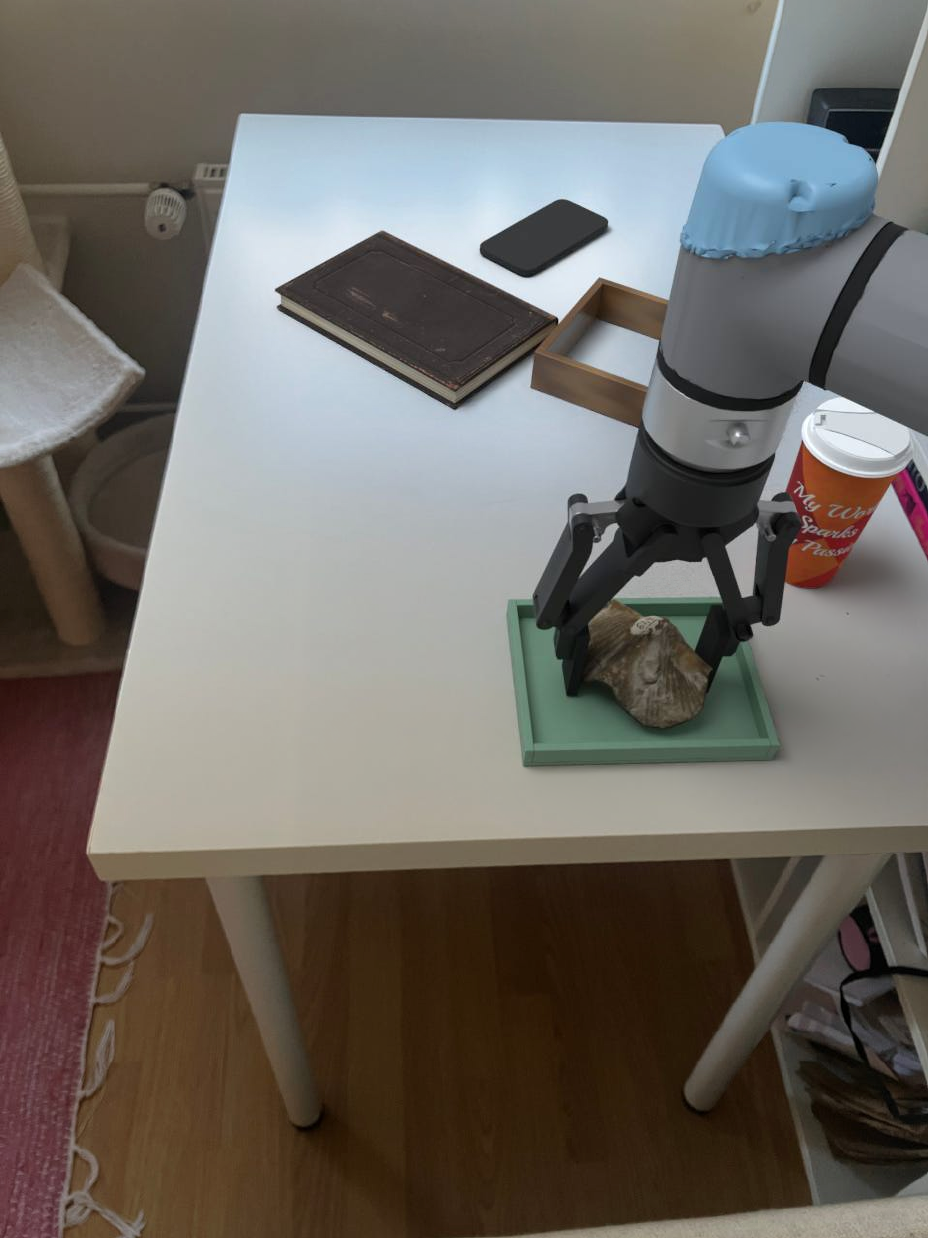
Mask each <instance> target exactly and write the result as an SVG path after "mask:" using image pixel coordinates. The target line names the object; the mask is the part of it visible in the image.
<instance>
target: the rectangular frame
mask: <svg viewBox="0 0 928 1238" xmlns="http://www.w3.org/2000/svg"><path fill="white" fill-rule="evenodd" d="M668 302H669V299H667V298H663V297H661V296H657V295H655V294H652V293H648V292H645V291H642V290H639V289H637V288H634V287H630V286H628V285H624V284H622V283H618V282H615V281H612V280H609V279H607V278H603V277H601V276H600V277H598V278H597V279H596V280H595V281H594V283H593V284H592V285H591V286H590V287H589V288H588V290H587V291H585V293H584V294H583V295H582V296H581V298H580V299H579V300H578V301H577V302H576V303H575V304H574V306H573V307H572V308H571V309H570V310H569V311H568V313H567V314H566V315H565V316H564V317H563V318H562V319H561V321H560V322H558V325H557V326H556V327H555V329H554V330H553V331H552V332H551V333H550V334H549V336H548V337H547V338H546V339H545V340H544V341H543V342H542V344H541V345H540V346H539V347H538V348H537V349H536V350H535V351H534V352H533V353H534V355H533V362H532V370H531V379H530V386H529V387H530V388H532V389H533V390H537V391H539V392H542V393H545V394H547V395H550V396H553V397H556V398H558V399H560V400H564V401H567V402H568V403H572V404H574V405H577V406H580V407H582V408H584V409H587V410H591V411H593V412H596V413H599V414H601V415H604V416H607V417H609V418H611V419H615V420H617V421H620V422H622V423H626V424H628V425H630V426H633V427H636V428H639V424H640V422H641V420H642V412H643V405H644V401H645V397H646V393H647V389H648V386H647V385H645V384H642V383H639V382H636V381H633V380H630V379H628V378H625V377H622V376H620V375H616V374H614V373H612V372H608V371H606V370H603V369H600V368H598V367H594V366H592V365H589V364H587V363H583V362H580V361H578V360H576V359H572V358H569V357H567V355H568V354H569V353H570V351H571V350H572V349H573V348H574V347H575V345H576V344H578V342H579V341H580V339H581V338H582V337H583V336H584V335H585V334H586V332H587V331H588V330H589V329H590V328H591V326H592V325H593V324H594V322H596V320H597V319H598V320H600V321H604V322H607V323H609V324H612V325H615V326H618V327H621V328H624V329H626V330H630V331H633V332H636V333H638V334H642V335H645V336H648V337H650V338H653V339H655V340H656V339H657V340H660V338H661V335H662V331H663V326H664V321H665V316H666V312H667V307H668Z"/></svg>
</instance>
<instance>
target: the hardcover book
mask: <svg viewBox="0 0 928 1238" xmlns="http://www.w3.org/2000/svg"><path fill="white" fill-rule="evenodd" d="M274 292H275V293H277V294H279V295H280V303H279V304H278V305H276V309H277V310H279V311H281V312H283V313H284V314H286V315H287V316H290V317H291V318H293V319H295V320H296V321H298V322H300V323H301V324H303V325H305V326H307V327H309V328H310V329H312V330H314V331H316V332H318V333H319V334H322V335H323V336H325V337H327V338H328V339H329V340H331V341H333V342H335V343H337V344H339V345H341V346H342V347H344V348H346V349H348V350H349V351H351V352H353V353H355V354H356V355H358V356H360V357H362V358H363V359H365V360H366V361H369V362H370V363H372V364H374V365H376V366H377V367H379V368H381V369H383V370H384V371H386V372H388V373H390V374H391V375H394V376H395V377H397V378H399V379H400V380H402V381H403V382H406V383H407V384H409V385H411V386H413V387H414V388H416V389H418V390H420V391H421V392H423V393H425V394H426V395H429V396H430V397H432V398H434V399H435V400H437V401H439V402H440V403H443V404H444V405H445V406H447V407H449V408H451V409H453V410H455V409H457V407H459V406H461V405H462V404H463V403H465V402H466V401H467V400H468V399H470V398H471V397H473V396H474V395H476V394H477V393H479V392H480V391H481V390H482V389H484V388H486V387H487V386H488V385H489V384H491V383H492V382H494V381H495V380H496V379H498V378H499V377H500V376H502V375H503V374H504V373H506V372H508V371H509V370H510V369H512V368H513V367H514V366H516V365H517V364H518V363H520V362H521V361H522V360H524V359H525V358H527V357H528V356H529V355H531V354H533V353H535V351H536V349H537V348H538V347H539V346H540V345H541V344H542V342H543V341H544V340H545V339H546V338H547V337H548V336H549V334H550V333H551V332H552V331H553V330H554V329H555V327H556V326H557V325H558V324H559V323H560V322H559V321H560V319H559V317H557V316H556V315H554V314H552V313H550V312H548V311H546V310H544V309H542V308H540V307H538V306H536V305H534V304H531V303H529V302H527V301H526V300H523V299H522V298H520V297H517V296H516V295H514V294H512V293H509V292H508V291H505V290H504V289H501V288H500V287H498V286H495V285H494V284H492V283H490V282H487V281H486V280H483V279H481V278H479V277H477V276H475V275H473V274H472V273H469V272H468V271H465V270H463V269H461V268H459V267H457V266H456V265H453V264H451V263H449V262H448V261H446V260H443V259H441V258H439V257H437V256H435V255H434V254H431V253H429V252H427V251H425V250H423V249H421V248H419V247H417V246H415V245H413V244H411V243H409V242H406V241H405V240H403V239H401V238H399V237H397V236H395V235H394V234H391V233H389V232H388V231H385V230H384V229H383V230H382V229H381V230H379V231H378V232H375V233H374V234H372V235H370V236H369V237H367V238H365V239H363V240H361V241H360V242H357V243H356V244H354V245H352V246H351V247H349V248H347V249H345V250H343V251H342V252H340V253H337V254H336V255H334V256H332V257H330V258H328V259H327V260H325V261H323V262H321V263H319V264H317V265H315V266H314V267H312V268H310V269H309V270H307V271H304V272H303V273H301V274H300V275H298V276H295V277H294V278H292V279H290V280H288V281H286V282H285V283H283V284H281V285H279V286H278V287H275V288H274Z"/></svg>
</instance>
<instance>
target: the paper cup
mask: <svg viewBox="0 0 928 1238" xmlns="http://www.w3.org/2000/svg"><path fill="white" fill-rule="evenodd" d="M800 430H801V431H800V433H801V439H802V440H801V442H800V445H799V448H798V452H797V455H796V458H795V461H794V464H793V466H792V467H793V468H792V470H791V473H790V477H789V479H788V482H787V486H786V488H785V491H784V492H787V493H789V494H790V495H791V497H792V499H793V502H794V505H795V507H796V510H797V512H798V515H799V518H800V520H801V523H802V528H801V530H800V532H799V533H798V535H797V536H796V538H795V540H794V541H793V543H792V545H791V546H790V548H789V554H788V562H787V569H786V577H785V583H787V584H789V585H791V586H794V587H798V588H801V589H802V588H803V589H817V588H821V587H824V586H826V585H827V584H829V583H831V581H832V580H833V579H834V577H835V576H836V575H837V573H838V572H839V570H840V569H841V567H842V566H843V564H844V563H845V561H846V559H847V558H848V556H849V554H850V553H851V551H852V549H853V548H854V546H855V544H856V543H857V541H858V540H859V538H860V537H861V534H862V533H863V531H864V530H865V528H866V526H867V524H868V523H869V521H870V520H871V518H872V516H873V514H874V513H875V511H876V510H877V508H878V506H879V505H880V503H881V501H882V499H883V498H884V497H885V494H886V493H887V491H888V490H889V488H890V486H891V485H892V483H893V481H894V479H895V478H896V476H897V474H898V473H900V472H901V471H903V470H904V469H905V468H907V466H908V465H909V463H910V462H911V461H912V459H913V458H914V447H913V446H914V442H913V441H914V440H913V436H912V434H911V433H910V428H908V427H906V426H904V425H902V424H899V423H897V422H895V421H893V420H891V419H889V418H887V417H884V416H882V415H880V414H878V413H876V412H874V411H872V410H869V409H867V408H865V407H863V406H861V405H859V404H857V403H854V402H852V401H850V400H848V399H846V398H844V397H842V396H839V397H834V398H830V399H828V400H825V401H824V402H823V403H820V405H818V406H817V407H816V409H815V410H814V411H813V412H811V413H810V414H809V415H808V416H807V417H806V418H805V419H804V420H803V423H802V425H801V429H800Z"/></svg>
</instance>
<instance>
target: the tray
mask: <svg viewBox="0 0 928 1238" xmlns="http://www.w3.org/2000/svg"><path fill="white" fill-rule="evenodd" d="M612 599H615V600H617V601H619V602H620V603H622V604H624V605H625V606H627V607H629V608H631V609H632V610H634V611H635V612H638V613H639V614H641V615H642V616H644V617H649V616H659V617H664V618H667V619H669V621H670V622H671V623H672V624H674V625H675V626H676V627H677V628H678V630H679V631H680V633H681V634H682V636H683V637H684V639H685V641H686V643H687V644H688V645H689V646H690V647H691V648H692V649H693V650H694V651H695V648H696V645H697V643H698V640H699V637H700V635H701V632H702V629H703V626H704V624H705V621H706V618H707V615H708V613H709V610H710V607H711V605H722V606H723V609H724V610H725V608H724V605H723V602H722V599H721V596H701V597H700V596H697V597H696V596H693V597H692V596H691V597H687V596H685V597H684V596H683V597H613V598H612ZM612 599H611V600H612ZM608 604H609V602H608V603H607V604H606V605H605V606H607V605H608ZM605 606H604V607H605ZM505 616H506V627H507V633H508V643H509V645H508V646H509V652H510V653H509V654H510V662H511V671H512V679H513V680H512V681H513V690H514V696H515V698H514V699H515V707H516V717H517V724H518V734H519V735H518V736H519V743H520V752H521V762H522V763H521V764H522V767H530V766H531V767H532V766H534V767H535V766H537V767H538V766H567V765H568V766H573V765H576V766H577V765H607V764H608V765H612V764H613V765H615V764H616V765H617V764H656V763H657V764H659V763H661V764H662V763H698V762H699V763H701V762H737V761H738V762H739V761H740V762H741V761H772V760H773V759H774V757H775V755H776V753H777V751H778V749H779V748H780V745H781V744H780V741H779V738H778V734H777V731H776V727H775V725H774V722H773V718H772V714H771V712H770V708H769V705H768V701H767V698H766V695H765V691H764V688H763V685H762V681H761V678H760V675H759V672H758V669H757V665H756V662H755V659H754V656H753V652H752V649H751V646H750V643H749V640H748V641H746V642H740V643H739V645H738V648H737V650H736V652H735V653H734V654H733V655H732V656H728V657H722V660H721V662H720V665H719V667H718V670H717V672H716V675H715V677H714V680H713V682H712V685H711V687H710V690H709V692H708V693H706V696H705V701H704V707H703V709H702V710H701V712H700V713H699V714H698V715H697V716H695V717H694V718H692V719H691V720H690V721H688V722H685V723H683V724H679V725H675V726H674V727H673V728H667V729H659V728H652V727H646V726H643V725H641V724H640V723H639V722H637V721H636V720H635V719H634V718H633V717H632V716H630V715H629V714H627V712H626V711H625V710H624V709H623V708H622V707H621V706H620V705H619V704H618V702H617V700H616V699H615V697H614V695H613V693H612V692H611V691H610V689H609V688H608V687H605V686H602V685H593V684H589V683H583V682H581V681H580V684H579V689H578V693H577V696H566V690H565V684H564V677H563V670H562V661H563V660H558V659H557V657H556V655H555V648H554V641H553V638H554V632H555V627H552V628H550V629H548V630H541V629H539V628H537V626H536V620H535V613H534V605H533V598H521V599H520V598H517V599H516V598H515V599H508V600H507V607H506V615H505Z"/></svg>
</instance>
